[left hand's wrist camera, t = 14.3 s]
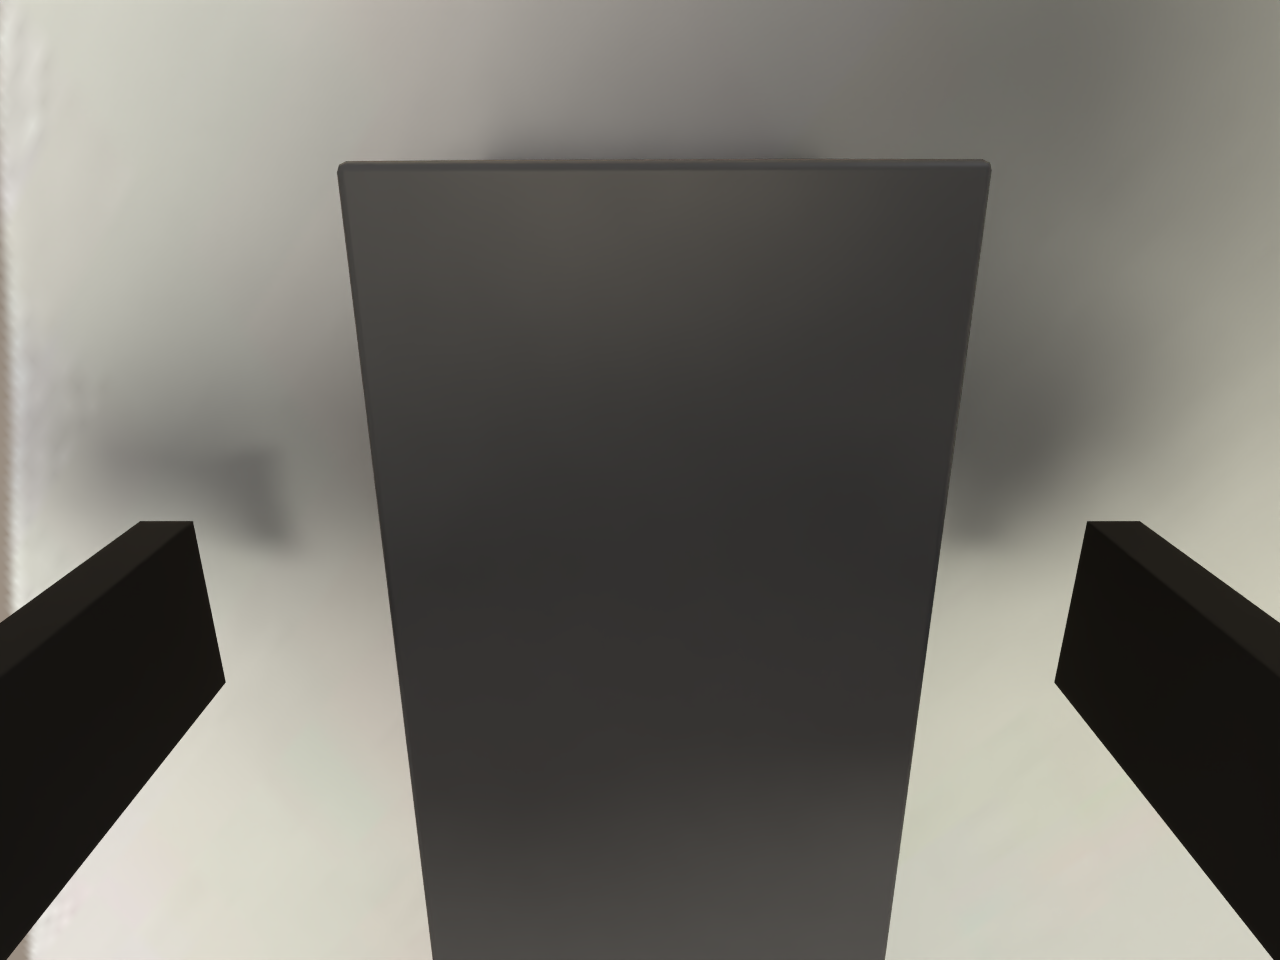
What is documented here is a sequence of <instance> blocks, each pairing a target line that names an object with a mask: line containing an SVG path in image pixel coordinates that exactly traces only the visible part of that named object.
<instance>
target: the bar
mask: <svg viewBox="0 0 1280 960" xmlns="http://www.w3.org/2000/svg"><path fill="white" fill-rule="evenodd" d="M337 176H338V184H339V192H340V201H341V209H342V217H343V225H344V233H345V242H346V250H347V258H348V266H349V275H350V283H351V291H352V299H353V307H354V316H355V324H356V332H357V340H358V349H359V357H360V365H361V373H362V381H363V390H364V398H365V406H366V414H367V423H368V431H369V439H370V447H371V455H372V464H373V472H374V480H375V488H376V496H377V505H378V513H379V521H380V529H381V538H382V546H383V554H384V562H385V570H386V579H387V587H388V595H389V603H390V612H391V620H392V628H393V636H394V644H395V653H396V661H397V669H398V677H399V686H400V694H401V702H402V710H403V718H404V727H405V735H406V743H407V751H408V760H409V768H410V776H411V784H412V792H413V801H414V809H415V817H416V825H417V834H418V842H419V850H420V858H421V866H422V875H423V883H424V891H425V899H426V908H427V916H428V924H429V932H430V940H431V949H432V957H433V960H885V954H886V947H887V940H888V932H889V925H890V917H891V910H892V903H893V895H894V888H895V880H896V873H897V866H898V858H899V851H900V843H901V836H902V829H903V821H904V814H905V806H906V799H907V792H908V784H909V777H910V769H911V762H912V755H913V747H914V740H915V732H916V725H917V718H918V710H919V703H920V695H921V688H922V681H923V673H924V666H925V658H926V651H927V644H928V636H929V629H930V621H931V614H932V607H933V599H934V592H935V584H936V577H937V570H938V562H939V555H940V547H941V540H942V533H943V525H944V518H945V510H946V503H947V496H948V488H949V481H950V473H951V466H952V459H953V451H954V444H955V436H956V429H957V422H958V414H959V407H960V399H961V392H962V385H963V377H964V370H965V363H966V355H967V348H968V340H969V333H970V326H971V318H972V311H973V303H974V296H975V289H976V281H977V274H978V266H979V259H980V252H981V244H982V237H983V229H984V222H985V215H986V207H987V200H988V192H989V185H990V178H991V166H990V163H989V162H987V161H985V160H983V159H631V160H432V161H346V162H344V163H342V164H340V165H339V167H338V171H337Z"/></svg>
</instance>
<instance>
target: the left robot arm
mask: <svg viewBox="0 0 1280 960" xmlns="http://www.w3.org/2000/svg"><path fill="white" fill-rule="evenodd" d="M225 683H226V682H225V677H224V672H223V667H222V662H221V657H220V652H219V647H218V643H217V638H216V633H215V628H214V623H213V618H212V613H211V608H210V603H209V598H208V593H207V588H206V584H205V579H204V574H203V569H202V564H201V559H200V554H199V549H198V544H197V539H196V534H195V530H194V525H193V521H140V522H139V523H137V524H136V525H134V526H133V527H132V528H130V529H129V530H128V531H126V532H125V533H123V534H122V535H121V536H119V537H118V538H117V539H115V540H114V541H112V542H111V543H110V544H108V545H107V546H106V547H104V548H103V549H101V550H100V551H99V552H97V553H96V554H95V555H93V556H92V557H90V558H89V559H88V560H86V561H85V562H83V563H82V564H81V565H79V566H78V567H77V568H75V569H74V570H72V571H71V572H70V573H68V574H67V575H66V576H64V577H63V578H61V579H60V580H59V581H57V582H56V583H55V584H53V585H52V586H50V587H49V588H48V589H46V590H45V591H44V592H42V593H41V594H39V595H38V596H37V597H35V598H34V599H33V600H31V601H30V602H28V603H27V604H26V605H24V606H23V607H22V608H20V609H19V610H17V611H16V612H15V613H13V614H12V615H11V616H9V617H8V618H6V619H5V620H4V621H2V622H1V623H0V960H7V958H8V957H9V956H10V955H11V953H12V952H13V951H14V950H15V948H16V947H17V946H18V944H19V943H20V942H21V941H22V939H23V938H24V937H25V936H26V934H27V933H28V932H29V931H30V929H31V928H32V927H33V925H34V924H35V923H36V922H37V920H38V919H39V918H40V917H41V915H42V914H43V913H44V912H45V910H46V909H47V908H48V907H49V905H50V904H51V903H52V901H53V900H54V899H55V898H56V896H57V895H58V894H59V893H60V891H61V890H62V889H63V888H64V886H65V885H66V884H67V882H68V881H69V880H70V879H71V877H72V876H73V875H74V874H75V872H76V871H77V870H78V869H79V867H80V866H81V865H82V863H83V862H84V861H85V860H86V858H87V857H88V856H89V855H90V853H91V852H92V851H93V850H94V848H95V847H96V846H97V845H98V843H99V842H100V841H101V839H102V838H103V837H104V836H105V834H106V833H107V832H108V831H109V829H110V828H111V827H112V826H113V824H114V823H115V822H116V820H117V819H118V818H119V817H120V815H121V814H122V813H123V812H124V810H125V809H126V808H127V807H128V805H129V804H130V803H131V801H132V800H133V799H134V798H135V796H136V795H137V794H138V793H139V791H140V790H141V789H142V788H143V786H144V785H145V784H146V783H147V781H148V780H149V779H150V777H151V776H152V775H153V774H154V772H155V771H156V770H157V769H158V767H159V766H160V765H161V764H162V762H163V761H164V760H165V758H166V757H167V756H168V755H169V753H170V752H171V751H172V750H173V748H174V747H175V746H176V745H177V743H178V742H179V741H180V739H181V738H182V737H183V736H184V734H185V733H186V732H187V731H188V729H189V728H190V727H191V726H192V724H193V723H194V722H195V721H196V719H197V718H198V717H199V715H200V714H201V713H202V712H203V710H204V709H205V708H206V707H207V705H208V704H209V703H210V702H211V700H212V699H213V698H214V696H215V695H216V694H217V693H218V691H219V690H220V689H221V688H222V686H223V685H224V684H225ZM1054 683H1055V684H1056V685H1057V686H1058V688H1059V689H1060V690H1061V691H1062V693H1063V694H1064V695H1065V696H1066V698H1067V699H1068V700H1069V702H1070V703H1071V704H1072V705H1073V707H1074V708H1075V709H1076V710H1077V712H1078V713H1079V714H1080V715H1081V717H1082V718H1083V719H1084V721H1085V722H1086V723H1087V724H1088V726H1089V727H1090V728H1091V729H1092V731H1093V732H1094V733H1095V734H1096V736H1097V737H1098V738H1099V739H1100V741H1101V742H1102V743H1103V745H1104V746H1105V747H1106V748H1107V750H1108V751H1109V752H1110V753H1111V755H1112V756H1113V757H1114V758H1115V760H1116V761H1117V762H1118V764H1119V765H1120V766H1121V767H1122V769H1123V770H1124V771H1125V772H1126V774H1127V775H1128V776H1129V777H1130V779H1131V780H1132V781H1133V782H1134V784H1135V785H1136V786H1137V788H1138V789H1139V790H1140V791H1141V793H1142V794H1143V795H1144V796H1145V798H1146V799H1147V800H1148V801H1149V803H1150V804H1151V805H1152V807H1153V808H1154V809H1155V810H1156V812H1157V813H1158V814H1159V815H1160V817H1161V818H1162V819H1163V820H1164V822H1165V823H1166V824H1167V826H1168V827H1169V828H1170V829H1171V831H1172V832H1173V833H1174V834H1175V836H1176V837H1177V838H1178V839H1179V841H1180V842H1181V843H1182V844H1183V846H1184V847H1185V848H1186V850H1187V851H1188V852H1189V853H1190V855H1191V856H1192V857H1193V858H1194V860H1195V861H1196V862H1197V863H1198V865H1199V866H1200V867H1201V869H1202V870H1203V871H1204V872H1205V874H1206V875H1207V876H1208V877H1209V879H1210V880H1211V881H1212V882H1213V884H1214V885H1215V886H1216V888H1217V889H1218V890H1219V891H1220V893H1221V894H1222V895H1223V896H1224V898H1225V899H1226V900H1227V901H1228V903H1229V904H1230V905H1231V906H1232V908H1233V909H1234V910H1235V912H1236V913H1237V914H1238V915H1239V917H1240V918H1241V919H1242V920H1243V922H1244V923H1245V924H1246V925H1247V927H1248V928H1249V929H1250V931H1251V932H1252V933H1253V934H1254V936H1255V937H1256V938H1257V939H1258V941H1259V942H1260V943H1261V944H1262V946H1263V947H1264V948H1265V950H1266V951H1267V952H1268V953H1269V955H1270V956H1271V957H1272V958H1273V960H1280V623H1279V622H1278V621H1276V620H1275V619H1274V618H1272V617H1271V616H1269V615H1268V614H1267V613H1265V612H1264V611H1263V610H1261V609H1260V608H1258V607H1257V606H1256V605H1254V604H1253V603H1252V602H1250V601H1249V600H1247V599H1246V598H1245V597H1243V596H1242V595H1241V594H1239V593H1238V592H1236V591H1235V590H1234V589H1232V588H1231V587H1230V586H1228V585H1227V584H1225V583H1224V582H1223V581H1221V580H1220V579H1219V578H1217V577H1216V576H1214V575H1213V574H1212V573H1210V572H1209V571H1208V570H1206V569H1205V568H1203V567H1202V566H1201V565H1199V564H1198V563H1197V562H1195V561H1194V560H1192V559H1191V558H1190V557H1188V556H1187V555H1186V554H1184V553H1183V552H1181V551H1180V550H1179V549H1177V548H1176V547H1174V546H1173V545H1172V544H1170V543H1169V542H1168V541H1166V540H1165V539H1163V538H1162V537H1161V536H1159V535H1158V534H1157V533H1155V532H1154V531H1152V530H1151V529H1150V528H1148V527H1147V526H1146V525H1144V524H1143V523H1141V522H1140V521H1087V525H1086V530H1085V535H1084V539H1083V544H1082V549H1081V554H1080V559H1079V564H1078V569H1077V574H1076V579H1075V584H1074V589H1073V593H1072V598H1071V603H1070V608H1069V613H1068V618H1067V623H1066V628H1065V633H1064V638H1063V643H1062V647H1061V652H1060V657H1059V662H1058V667H1057V672H1056V677H1055V682H1054Z"/></svg>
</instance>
